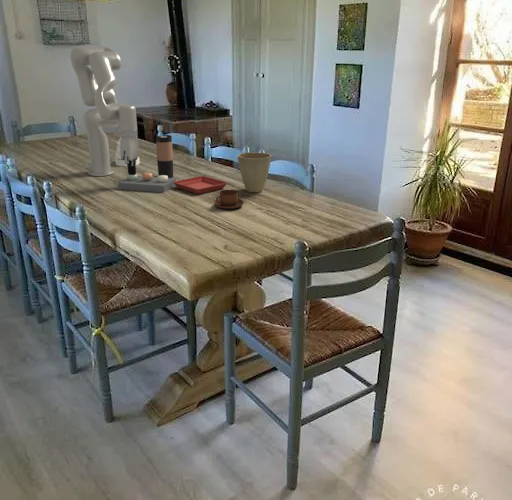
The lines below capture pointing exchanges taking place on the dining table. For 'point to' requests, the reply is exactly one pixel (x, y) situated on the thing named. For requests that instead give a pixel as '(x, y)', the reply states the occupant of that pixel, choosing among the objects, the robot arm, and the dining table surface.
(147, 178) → the terracotta button
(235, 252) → the dining table surface
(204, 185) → the plant saucer
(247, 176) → the plant pot
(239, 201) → the cup and saucer
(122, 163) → the honey pot
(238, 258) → the dining table surface
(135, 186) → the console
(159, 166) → the travel mug
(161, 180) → the cream button
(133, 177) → the sage button
